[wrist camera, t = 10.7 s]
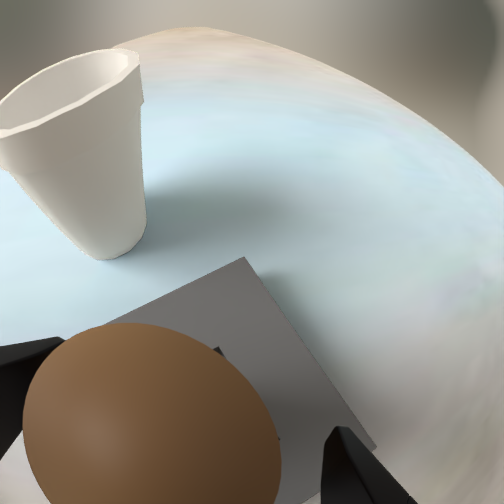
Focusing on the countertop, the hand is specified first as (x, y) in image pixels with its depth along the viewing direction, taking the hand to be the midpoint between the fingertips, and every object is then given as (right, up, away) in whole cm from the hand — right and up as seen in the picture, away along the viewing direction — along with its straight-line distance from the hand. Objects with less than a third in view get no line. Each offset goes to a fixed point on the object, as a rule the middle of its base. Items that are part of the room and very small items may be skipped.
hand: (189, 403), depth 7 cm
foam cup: (-10, +6, +14) cm, 18 cm away
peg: (-1, -6, +7) cm, 9 cm away
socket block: (-1, -6, +7) cm, 9 cm away
